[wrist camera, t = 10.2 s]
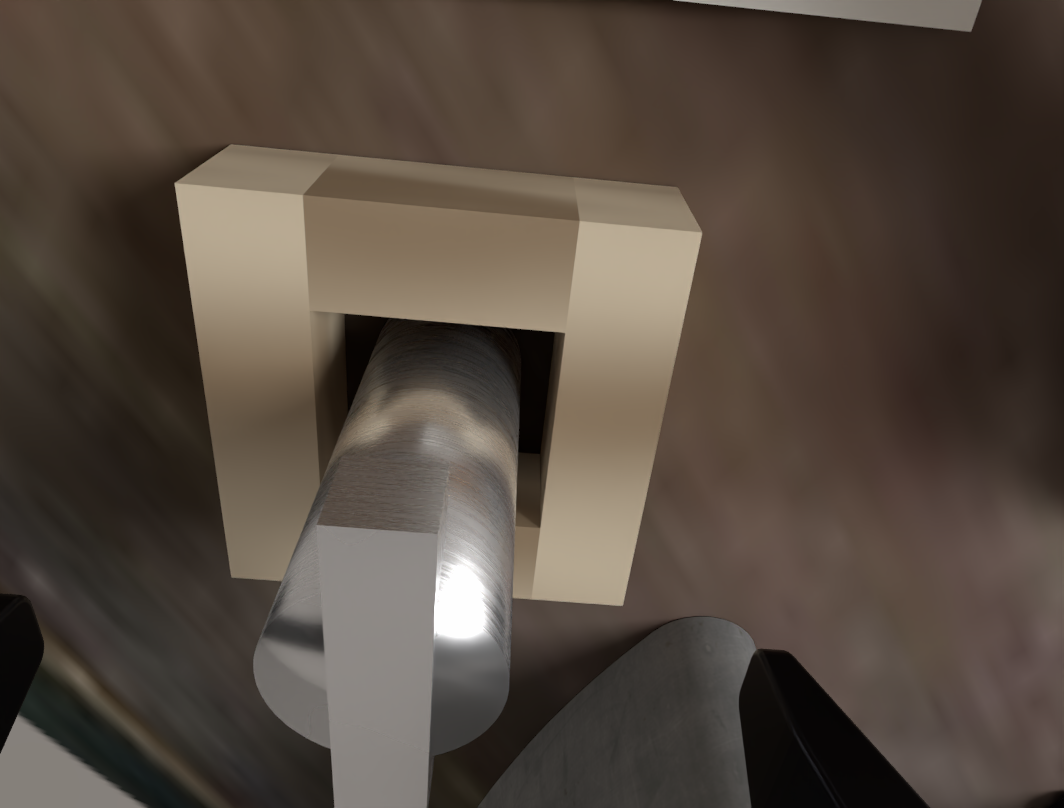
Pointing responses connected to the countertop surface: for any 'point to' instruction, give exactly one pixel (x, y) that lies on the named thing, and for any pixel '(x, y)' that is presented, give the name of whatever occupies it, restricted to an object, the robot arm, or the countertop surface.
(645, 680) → the hip flask
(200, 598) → the countertop surface
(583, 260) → the socket
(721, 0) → the white square plate
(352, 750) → the shiny silver metal piece
